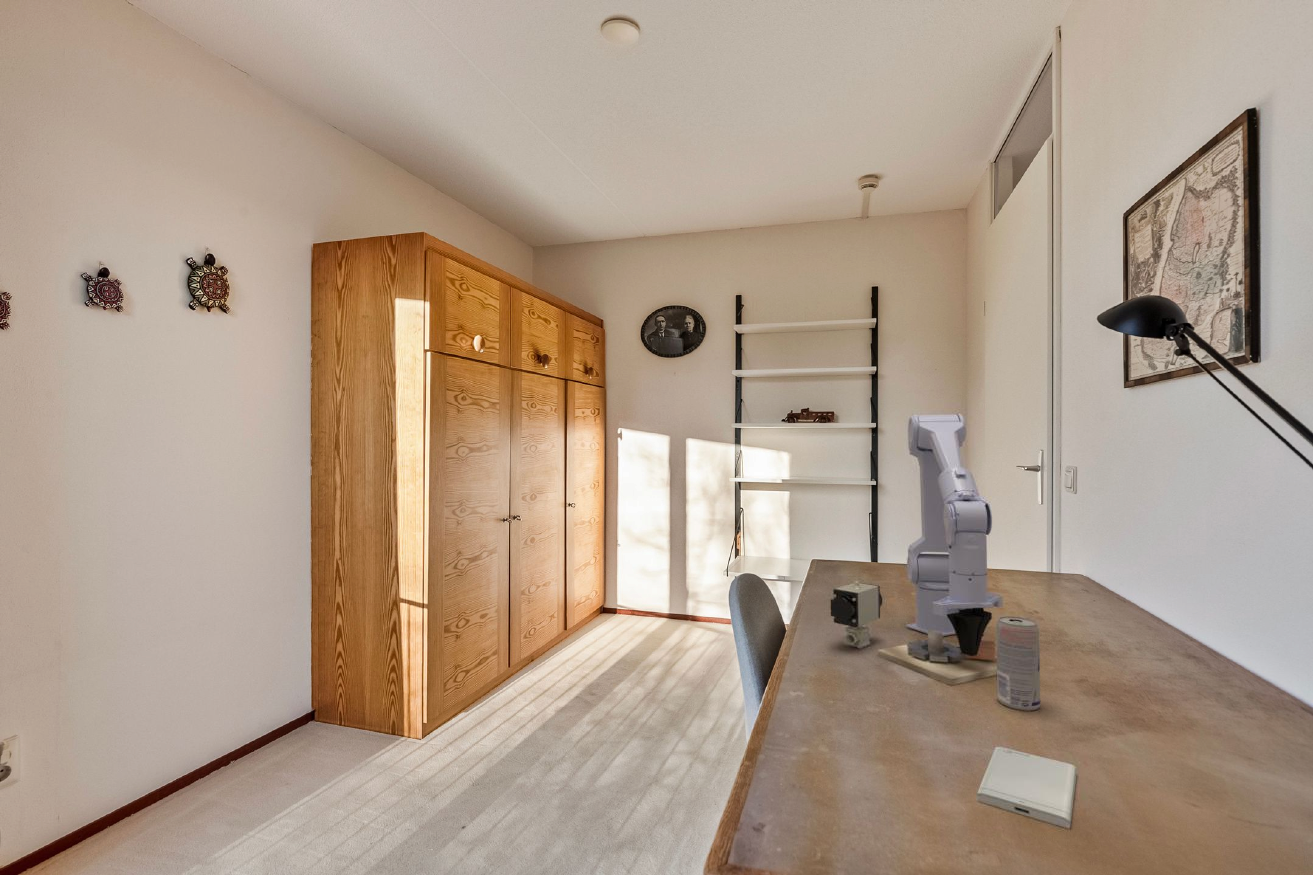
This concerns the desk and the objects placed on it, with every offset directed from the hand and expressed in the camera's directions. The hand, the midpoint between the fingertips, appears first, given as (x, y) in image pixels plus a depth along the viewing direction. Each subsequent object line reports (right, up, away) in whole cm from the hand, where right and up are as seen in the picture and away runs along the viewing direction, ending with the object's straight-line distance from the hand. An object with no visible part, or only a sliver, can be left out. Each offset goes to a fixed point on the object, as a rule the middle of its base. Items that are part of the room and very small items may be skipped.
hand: (969, 653), depth 103 cm
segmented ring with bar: (-1, -1, +4) cm, 4 cm away
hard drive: (-12, -3, -35) cm, 37 cm away
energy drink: (0, -3, -14) cm, 14 cm away
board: (-3, -3, +4) cm, 5 cm away
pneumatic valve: (-15, -3, +14) cm, 20 cm away
